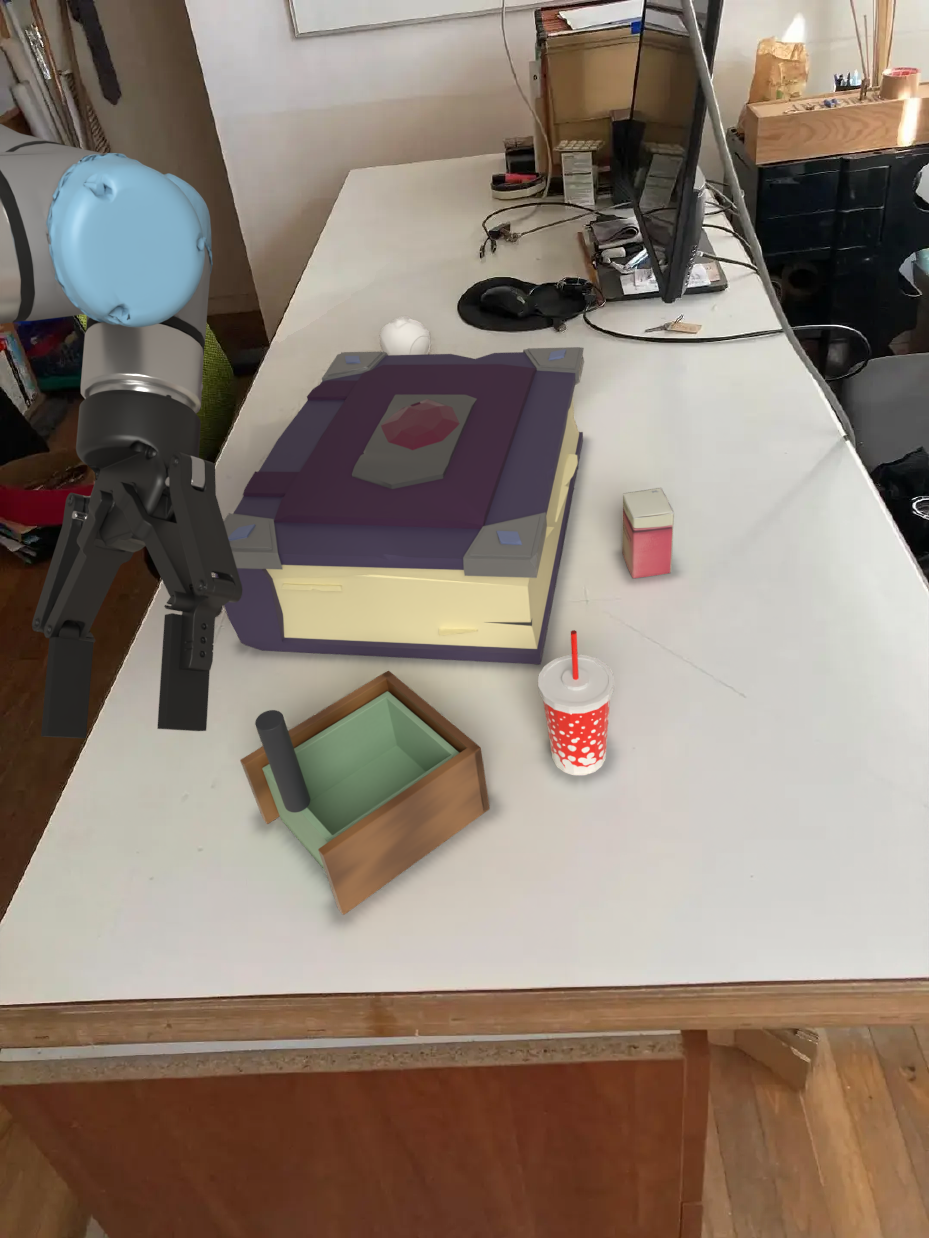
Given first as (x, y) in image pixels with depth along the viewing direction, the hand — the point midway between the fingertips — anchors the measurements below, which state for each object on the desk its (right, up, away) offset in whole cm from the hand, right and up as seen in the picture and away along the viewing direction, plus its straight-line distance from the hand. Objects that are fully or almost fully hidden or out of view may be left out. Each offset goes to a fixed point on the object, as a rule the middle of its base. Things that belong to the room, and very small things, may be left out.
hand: (118, 734), depth 57 cm
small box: (+41, +13, +43) cm, 61 cm away
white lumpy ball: (+12, +47, +89) cm, 102 cm away
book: (+17, +17, +52) cm, 58 cm away
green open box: (+14, -9, +20) cm, 26 cm away
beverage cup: (+31, -5, +23) cm, 39 cm away
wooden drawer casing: (+14, -9, +20) cm, 26 cm away
